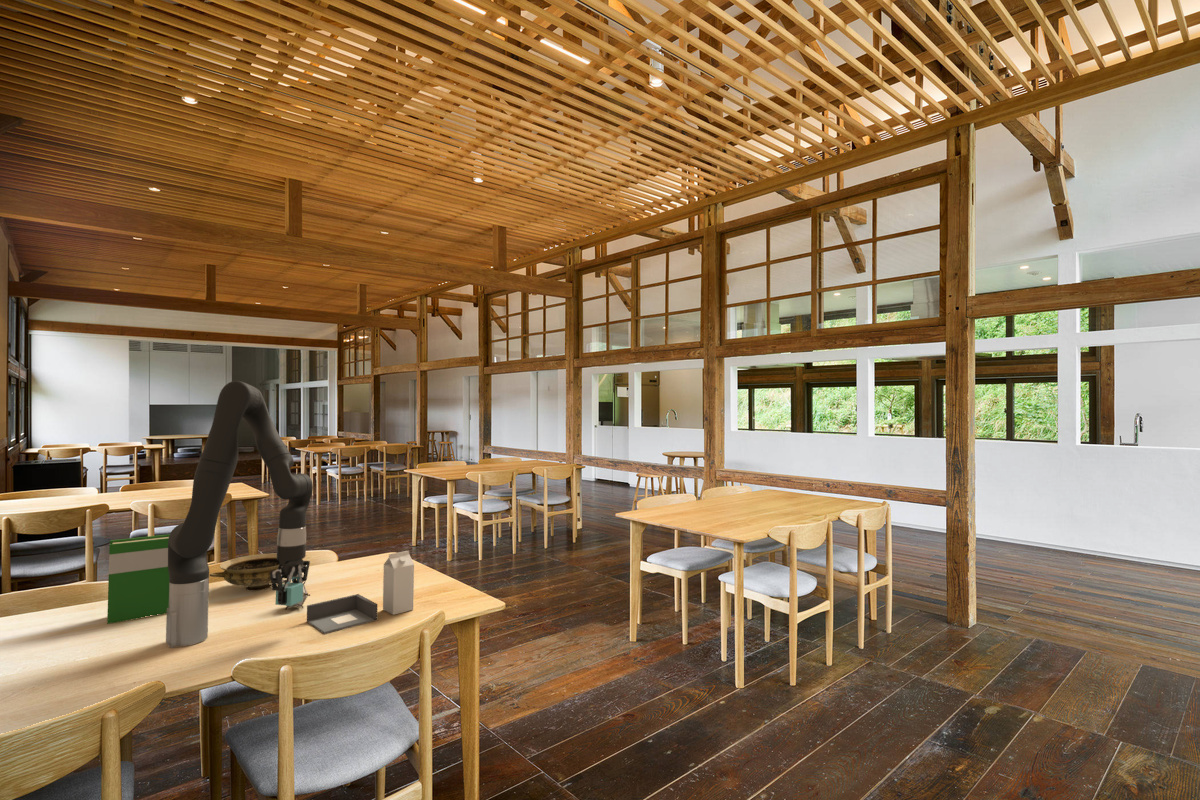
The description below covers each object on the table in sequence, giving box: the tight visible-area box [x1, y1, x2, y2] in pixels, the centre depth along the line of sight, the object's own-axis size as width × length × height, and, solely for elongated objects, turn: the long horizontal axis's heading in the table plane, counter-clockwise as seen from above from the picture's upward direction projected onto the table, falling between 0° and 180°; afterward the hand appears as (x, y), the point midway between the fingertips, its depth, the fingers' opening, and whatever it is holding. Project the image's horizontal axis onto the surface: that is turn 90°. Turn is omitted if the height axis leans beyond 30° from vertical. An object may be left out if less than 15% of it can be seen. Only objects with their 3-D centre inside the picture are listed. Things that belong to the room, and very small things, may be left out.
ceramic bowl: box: [209, 552, 279, 592], centre depth 211 cm, size 30×24×10 cm
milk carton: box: [382, 550, 415, 615], centre depth 189 cm, size 7×7×19 cm
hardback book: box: [106, 533, 170, 625], centre depth 183 cm, size 18×7×24 cm, turn 130°
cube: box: [274, 582, 304, 607], centre depth 167 cm, size 5×5×5 cm
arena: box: [306, 593, 378, 635], centre depth 179 cm, size 16×14×5 cm
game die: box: [285, 581, 311, 611], centre depth 190 cm, size 9×8×10 cm
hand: (289, 600), depth 167 cm, fingers closed on cube, 5 cm apart
